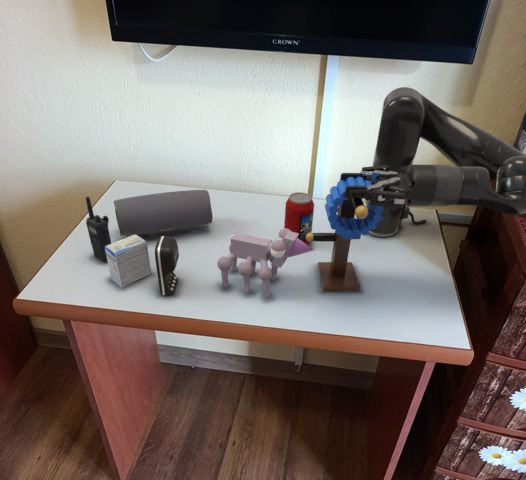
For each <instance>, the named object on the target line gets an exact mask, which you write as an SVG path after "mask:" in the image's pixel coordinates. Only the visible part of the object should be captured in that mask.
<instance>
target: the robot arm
mask: <svg viewBox="0 0 526 480" xmlns="http://www.w3.org/2000/svg"><path fill="white" fill-rule="evenodd" d="M420 139H422V140H424V141H425V142H427V143H429V144H430V145H432V146H433V147H434V148H435V149H436V150H437V151H438V152H439V153H440V154H441V155H442V156H443V157H445V158H446V159H447V160H448V161H449V162H450V163H452V164H453V165H450V164H414V160H415V158H416V155H417V153H418V152H417V151H418V148H419V143H420ZM339 177H340V178H339V181H340V180H344V181H345V182H346V179H347V178H348V177H353V178H354V179H356V178H357V177H362V178H363V179H364V181H365V180H369V181H370V182H371V184H372V185H370V186H367V188H366V186H346V187H345V194H344V195H345V198H347V199H362V200H365V206H366V207H367V209H368V205H369V203H370V204H371V205H376V206H383V209H384V210H383V212H382V213H381V216H382V219H381V221H379V222H376V223H377V227H376V228H375V229H373V230H371V229H370V232H369V234H368V235H370V236H373V237H378V238H388V237H392V236H395V235H396V234H397V233H398V232H399V230H401V227H402V223H403V220H406V219H408V218H409V216H410V219H411V223H412V224H414V225H421V224H424V223H427V219H422V220H418V221H416V220H415V215H414V214H413V213H412V212H411V211H410V210H411V208H410V207H447V206H476V207H480V208H481V207H482V208H486V209H489V210H492V211H496V212H498V213H501V214H505V215H509V216H519V215H523V214H526V153H524V152H523V151H521V150H519V149H517V148H515V146H513V145H511V144H510V143H508V142H506V141H504V140H503V139H501V138H499V137H498V136H496V135H494V134H492V133H490V132H488V131H487V130H485V129H483V128H480V127H478V126H477V125H475V124H473V123H470V122H469V121H466V120H465V119H462V118H460V117H458V116H455V115H454V114H451V113H449V112H448V111H446V110H444V109H443V108H441V107H440V106H438V105H437V104H435V103H434V102H433V101H431V100H430V99H428V98H427V97H425V95H423V94H422V93H420V92H419V91H418V90H416V89H414V88H412V87H408V86H402V87H397V88H395V89H393V90H391V91H390V92H389V93H387V95H386V96H385V98H384V99H383V103H382V108H381V115H380V123H379V129H378V134H377V140H376V146H375V150H374V155H373V161H372V165H371V166H363V167H362V168H361V170H360V172H342V173H340V176H339ZM492 181H496V184H495V186H496V187H495V190H494V187H493V183H492ZM370 201H371V202H370Z"/></svg>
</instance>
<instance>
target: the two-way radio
mask: <svg viewBox="0 0 526 480" xmlns="http://www.w3.org/2000/svg"><path fill="white" fill-rule="evenodd" d="M85 201H86V207H87V213H88V217H87V218H86V221H85V222H86V228H87V232H88V236H89V240H90V245H91V248H92V252H93V256H94V257H95V258H96V259H98V260H99V261H101V262H103V263H108V261H107V256H106V252H105V246H107V245H109V244H112V239H111V235H110V234H111V233H110V230H109V221H110V220H109V216H107V215H103V216H102V217H101V216H100V215H99V214H96V215H95V214H94V210H93V206H92V202H91V199H90V196H85Z"/></svg>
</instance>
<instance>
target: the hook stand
mask: <svg viewBox="0 0 526 480" xmlns="http://www.w3.org/2000/svg"><path fill="white" fill-rule="evenodd" d="M337 215H340V216H341V218H342V219H343V218H347V219H348V220H350V219H351V218H356V219H357V218H359V219H364V218H366V217H367V215H368V209H367V207H366V205H365V204H364V200H363V199H348V200H343V203H342V205H341V206H338V212H337ZM306 240H307V241H308V242H310V243H312V242H333V245H332V250H331V260H330V261H318V262H317V271H318V275H319V279H320V284H321V290H322V292H360V284H359V280H358V277H357V274H356V271H355V267H354V264H353V262H352V261H348V259H349V254H350V253H349V252H350V247H351V240H352V239H343V236H342V235H338V234H337V233H336V230H334V232H313V231H312V232H309V233H307V235H306Z"/></svg>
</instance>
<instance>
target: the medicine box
mask: <svg viewBox="0 0 526 480" xmlns="http://www.w3.org/2000/svg"><path fill="white" fill-rule="evenodd" d="M105 252H106V256H107V261H108V262H107V266H108V269H109V270H108V271H109V275H110V279H111V280H112V281H113V282H114V283H115V284H117V286H119V287H120V288H124V287H126V286H128V285H130V284H133V283H135V282H137V281H140V280H142V279H144V278H145V277H147V276H150V275H152V269H151V263H150V261H151V260H150V253H149V248H148V242H147V241H146V240H145V239H143V238H142V237H140V235H139V236H138V235H135V234H134V235H128V237H125V238H122V239H120V240H117V241H114V242H111V244H109V245H107V246H105Z"/></svg>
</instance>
